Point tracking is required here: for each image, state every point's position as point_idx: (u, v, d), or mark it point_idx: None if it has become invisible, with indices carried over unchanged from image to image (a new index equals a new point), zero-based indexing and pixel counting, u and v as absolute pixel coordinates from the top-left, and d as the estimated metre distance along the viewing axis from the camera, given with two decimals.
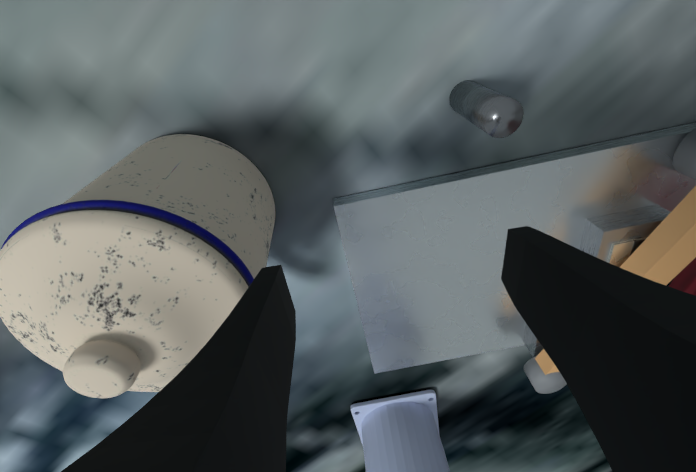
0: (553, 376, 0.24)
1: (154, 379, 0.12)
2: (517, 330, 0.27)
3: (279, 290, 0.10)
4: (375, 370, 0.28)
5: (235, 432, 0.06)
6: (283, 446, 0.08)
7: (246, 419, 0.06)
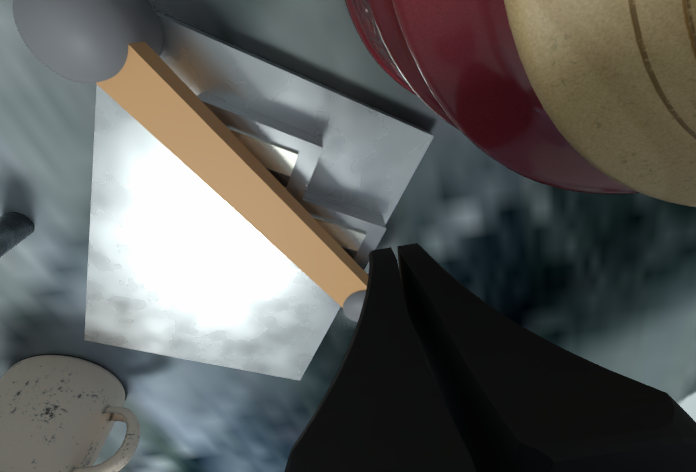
0: (350, 303, 0.19)
1: None
2: None
3: None
4: (296, 378, 0.28)
5: None
6: None
7: None
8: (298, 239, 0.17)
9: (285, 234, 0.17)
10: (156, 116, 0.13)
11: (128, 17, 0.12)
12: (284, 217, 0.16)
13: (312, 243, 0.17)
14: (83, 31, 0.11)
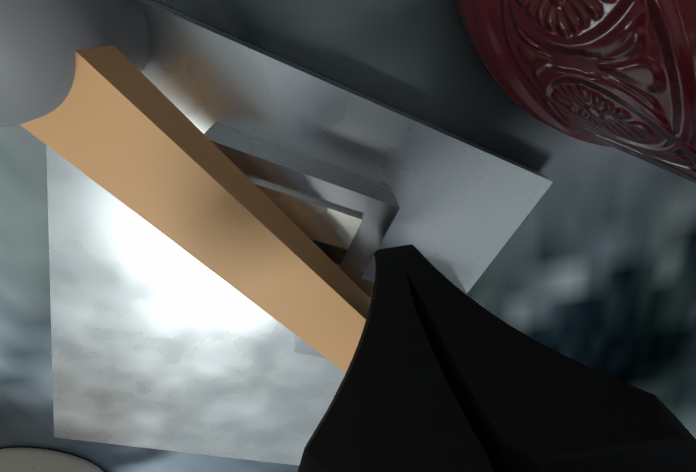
0: None
1: None
2: None
3: None
4: None
5: None
6: None
7: None
8: None
9: (341, 341, 0.11)
10: (135, 178, 0.07)
11: None
12: (342, 320, 0.10)
13: None
14: None
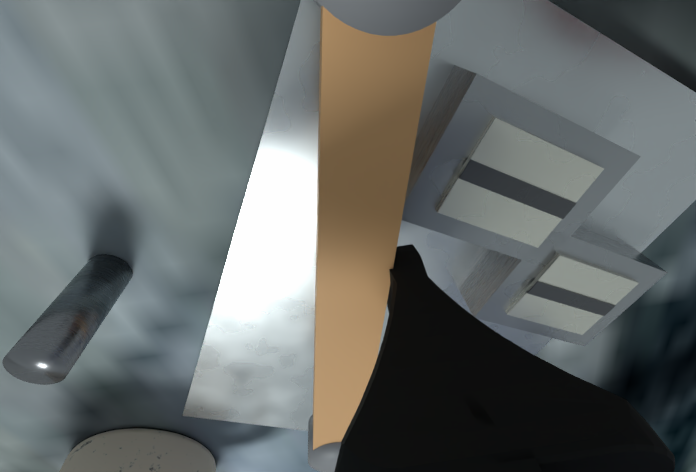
0: (327, 450, 0.14)
1: None
2: None
3: None
4: None
5: None
6: None
7: None
8: (350, 370, 0.11)
9: (342, 358, 0.11)
10: (355, 133, 0.07)
11: None
12: (363, 343, 0.11)
13: (359, 381, 0.12)
14: None
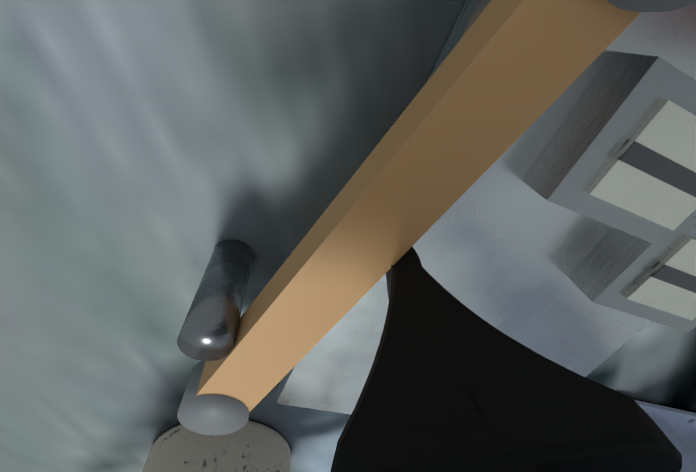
0: (212, 402, 0.12)
1: None
2: None
3: None
4: None
5: None
6: None
7: None
8: (309, 316, 0.10)
9: (313, 298, 0.10)
10: (511, 67, 0.07)
11: None
12: (346, 291, 0.10)
13: (308, 333, 0.10)
14: None
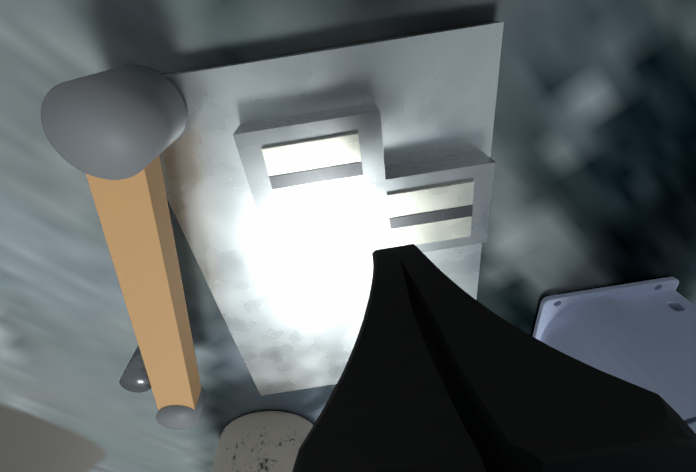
0: (168, 411, 0.20)
1: None
2: None
3: None
4: None
5: None
6: None
7: None
8: (165, 352, 0.17)
9: (156, 344, 0.17)
10: (119, 218, 0.13)
11: (162, 146, 0.12)
12: (167, 334, 0.17)
13: (174, 360, 0.18)
14: (111, 142, 0.11)
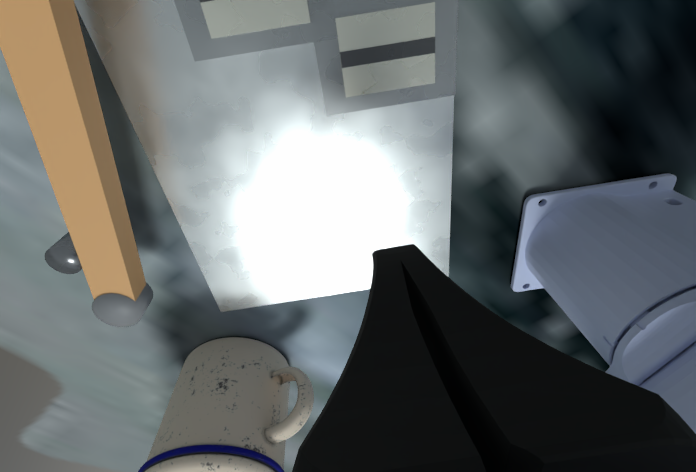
0: (105, 300, 0.18)
1: None
2: (415, 105, 0.17)
3: None
4: None
5: None
6: None
7: None
8: (90, 215, 0.15)
9: (79, 203, 0.15)
10: (8, 6, 0.11)
11: None
12: (89, 188, 0.15)
13: (103, 228, 0.16)
14: None
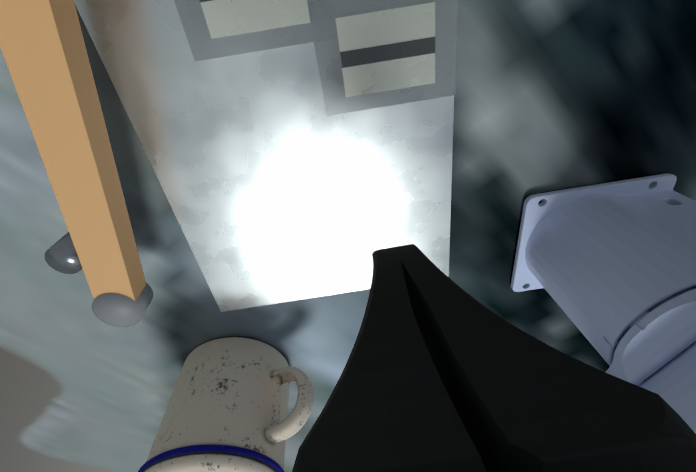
0: (105, 300, 0.18)
1: None
2: (415, 105, 0.17)
3: None
4: None
5: None
6: None
7: None
8: (90, 215, 0.15)
9: (79, 202, 0.15)
10: (8, 6, 0.11)
11: None
12: (89, 188, 0.15)
13: (103, 228, 0.16)
14: None
